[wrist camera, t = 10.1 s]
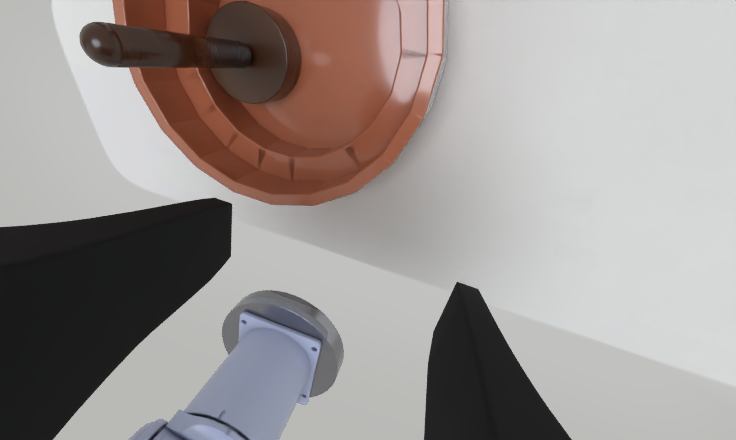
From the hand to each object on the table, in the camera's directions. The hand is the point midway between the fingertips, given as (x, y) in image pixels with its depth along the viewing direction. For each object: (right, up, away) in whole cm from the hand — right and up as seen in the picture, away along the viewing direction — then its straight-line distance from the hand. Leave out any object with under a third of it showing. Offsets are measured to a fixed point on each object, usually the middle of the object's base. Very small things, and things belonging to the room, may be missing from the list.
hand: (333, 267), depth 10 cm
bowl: (-2, +11, +7) cm, 13 cm away
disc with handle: (-5, +10, +8) cm, 14 cm away
